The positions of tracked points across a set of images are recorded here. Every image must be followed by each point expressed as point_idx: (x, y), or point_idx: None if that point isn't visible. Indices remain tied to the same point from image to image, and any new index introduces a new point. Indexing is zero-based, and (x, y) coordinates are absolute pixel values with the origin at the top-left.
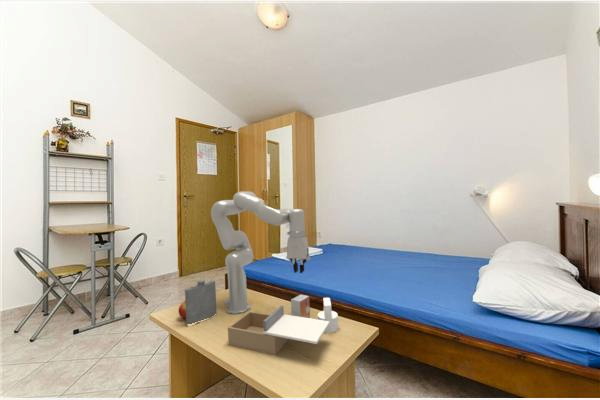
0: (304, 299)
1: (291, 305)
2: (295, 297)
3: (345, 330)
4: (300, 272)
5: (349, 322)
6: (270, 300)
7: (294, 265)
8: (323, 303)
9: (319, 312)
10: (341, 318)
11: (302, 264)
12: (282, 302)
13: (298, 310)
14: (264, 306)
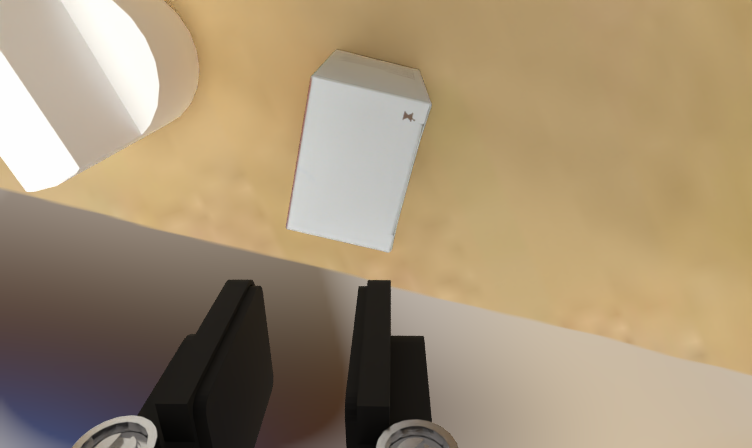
0: (298, 152)
1: (423, 89)
2: (405, 166)
3: None
4: (239, 282)
5: None
6: (705, 320)
7: (370, 386)
8: (108, 149)
9: (156, 90)
10: (114, 212)
11: (95, 428)
12: (600, 314)
13: (342, 64)
14: (722, 221)
